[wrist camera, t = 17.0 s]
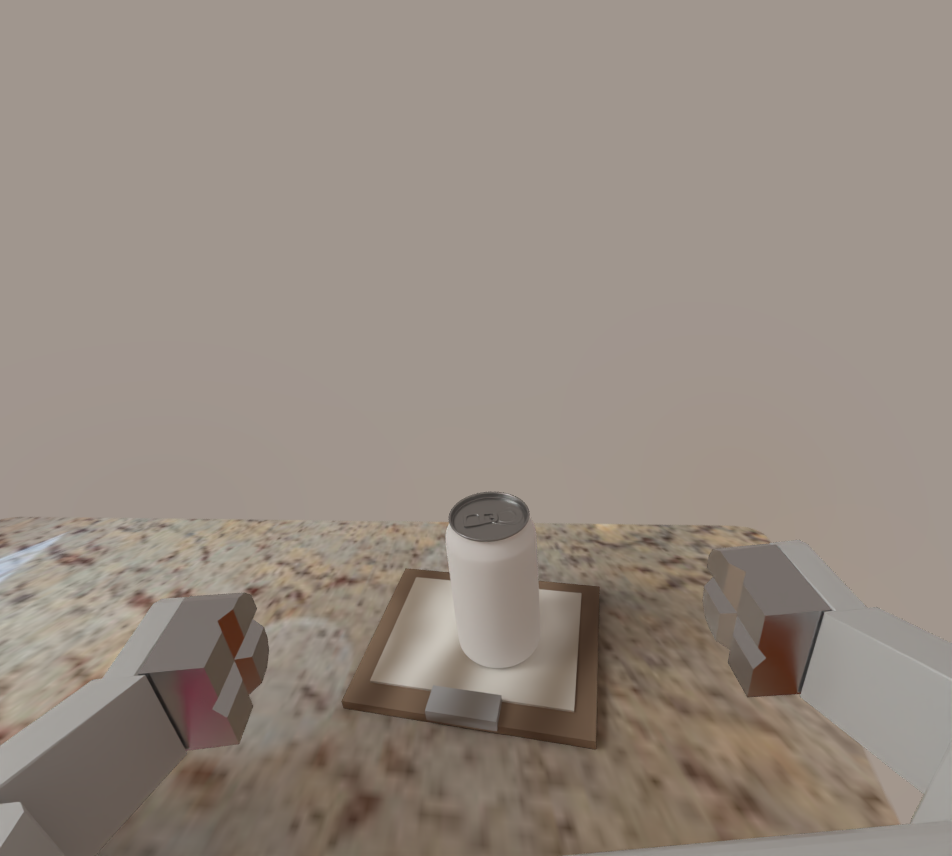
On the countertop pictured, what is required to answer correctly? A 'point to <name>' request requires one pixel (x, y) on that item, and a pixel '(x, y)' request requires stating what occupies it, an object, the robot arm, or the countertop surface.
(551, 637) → the clipboard
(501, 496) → the can
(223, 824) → the countertop surface
